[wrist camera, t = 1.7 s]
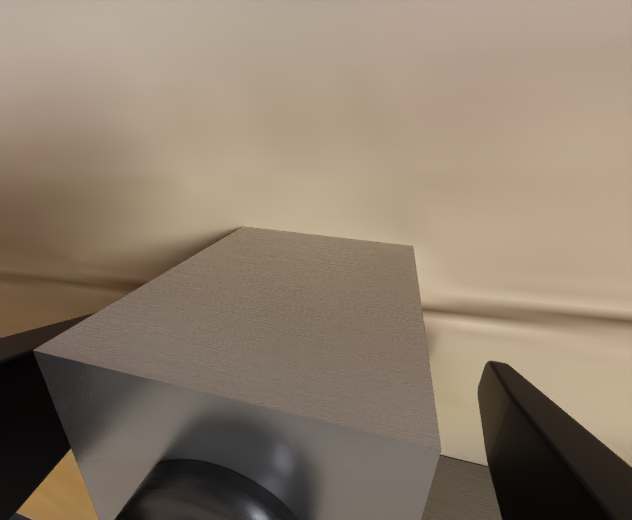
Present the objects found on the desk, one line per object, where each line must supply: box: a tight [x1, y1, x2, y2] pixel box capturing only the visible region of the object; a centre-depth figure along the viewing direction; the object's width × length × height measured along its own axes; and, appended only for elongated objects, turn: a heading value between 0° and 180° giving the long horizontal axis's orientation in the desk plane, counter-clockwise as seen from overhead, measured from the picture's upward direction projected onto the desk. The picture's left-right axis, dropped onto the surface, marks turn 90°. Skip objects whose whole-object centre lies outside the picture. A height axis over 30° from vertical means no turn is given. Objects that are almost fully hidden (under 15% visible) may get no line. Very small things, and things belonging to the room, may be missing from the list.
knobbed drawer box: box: [33, 227, 441, 520], centre depth 7 cm, size 5×5×7 cm
